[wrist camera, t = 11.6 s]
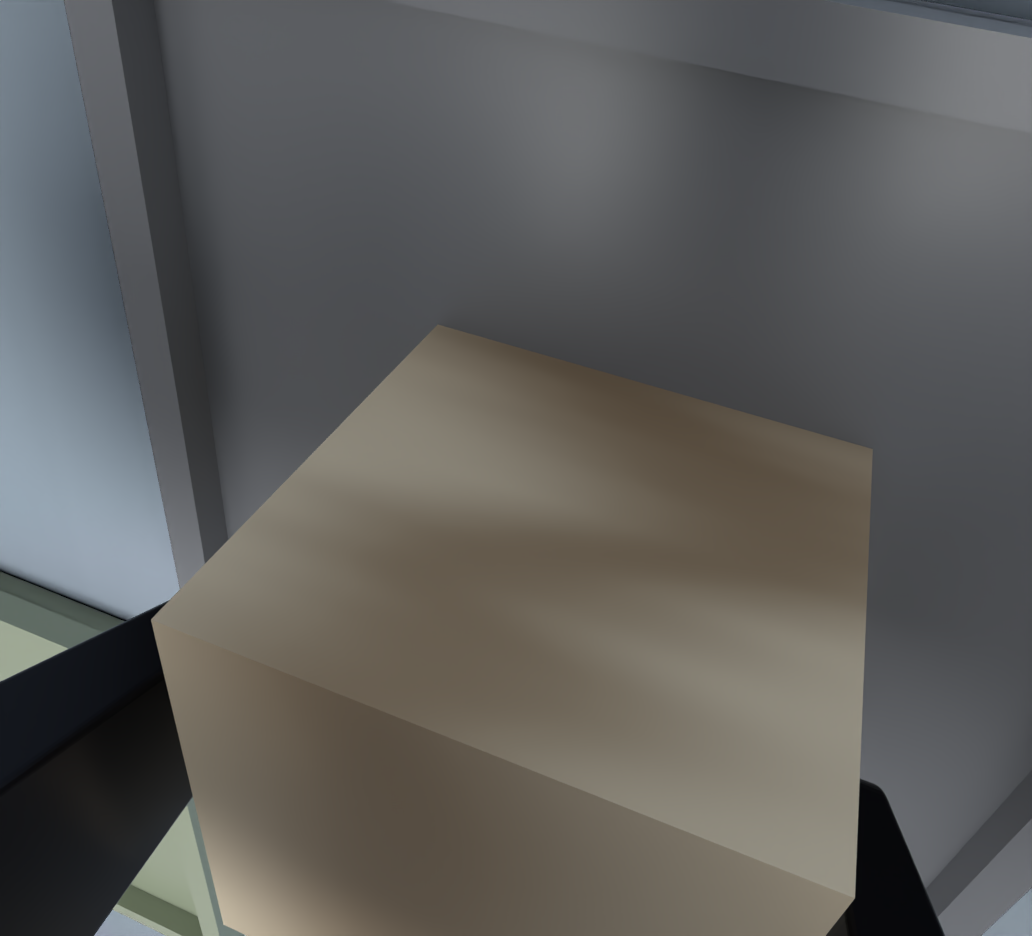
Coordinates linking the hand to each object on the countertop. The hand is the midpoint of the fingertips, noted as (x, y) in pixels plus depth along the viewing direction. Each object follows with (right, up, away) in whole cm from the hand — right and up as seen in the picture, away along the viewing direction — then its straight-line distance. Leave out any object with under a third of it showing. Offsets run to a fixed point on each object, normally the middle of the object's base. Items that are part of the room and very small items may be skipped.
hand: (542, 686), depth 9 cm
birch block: (+1, +1, +2) cm, 2 cm away
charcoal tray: (+1, +2, +2) cm, 3 cm away
